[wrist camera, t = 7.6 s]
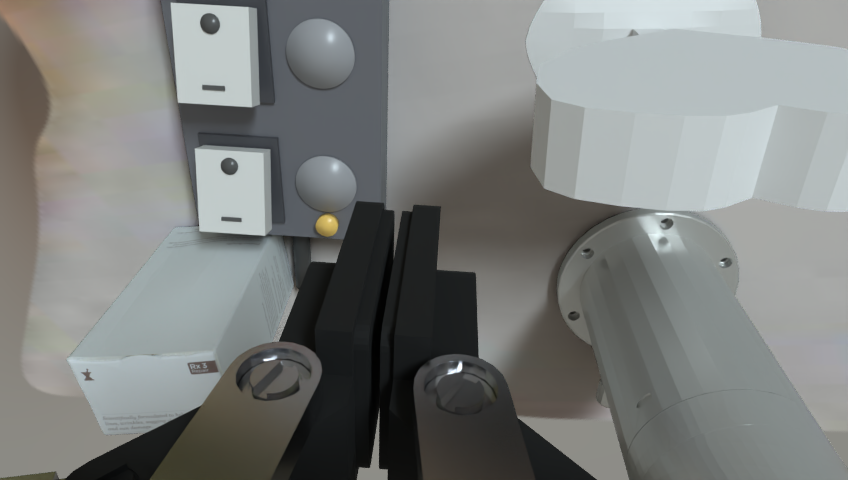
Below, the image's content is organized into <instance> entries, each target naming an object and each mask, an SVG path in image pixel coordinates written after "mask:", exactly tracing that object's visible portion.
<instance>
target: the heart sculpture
mask: <svg viewBox="0 0 848 480" xmlns="http://www.w3.org/2000/svg"><path fill="white" fill-rule="evenodd" d="M525 43H526V49H527V54H528V58H529V60H530V63H531V66H532V68H533V71H534V73H535V75H536V77H537V82H536V95H535V109H534V123H533V137H532V151H531V165H530V167H531V169H532V171H533V172H534V174H535V175H536V177H537V178H538V180H539V182H540V183H541V185H542V186H543V188H544V189H547V190H550V191H553V192H555V193H558V194H561V195H564V196H567V197H570V198H573V199H578V200H584V201H590V202H597V203H603V204H610V205H616V206H624V207H634V208H644V209H655V210H665V211H707V210H713V209H719V208H724V207H728V206H730V205H733V204H736V203H739V202H741V201H744V200H747V199H750V198H755V199H760V200H764V201H769V202H773V203H778V204H782V205H787V206H791V207H796V208H803V209H810V210H817V211H824V212H848V49H845V48H840V47H834V46H826V45H818V44H811V43H803V42H795V41H787V40H780V39H772V38H762V37H761V20H760V14H759V9H758V6H757V2H756V0H544V1H543V3H542V5H541V6H540V8H539V10H538V11H537V13H536V15H535V17H534V19H533V21H532V23H531V25H530V28H529V31H528V34H527V38H526V41H525Z"/></svg>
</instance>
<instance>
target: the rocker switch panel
mask: <svg viewBox="0 0 848 480" xmlns="http://www.w3.org/2000/svg"><path fill="white" fill-rule="evenodd" d="M171 3H186V4H204V5H221V6H238V7H251V8H257V29H258V61H259V94H260V105H257V106H254V107H239V106H223V105H207V104H191V103H178V105H179V111H180V116H181V122H182V128H183V134H184V140H185V146H186V152H187V157H188V163H189V169H190V175H191V181H192V187H193V192H194V198H195V204H196V210H197V216H198V222H199V214H198V196H197V178H196V160H195V148H198V147H200V146H203V145H211V146H227V147H243V148H258V149H270V158H271V212H272V230H271V231H270V232H269V233H268V234H270V235H285V236H292V238H293V250H294V263H295V276H296V287H297V288H298V289H300V287H301V284H302V282H303V279H304V276H305V274H306V271H307V269H308V266H309V265H310V263H311V252H310V237H315V238H330V239H344V237H345V234H346V231H347V228H348V225H349V222H350V219H351V216H352V213H353V210H354V206H355V203H356V201H364V202H379V203H384V205H385V210H386V180H387V111H388V42H389V0H161V5H162V11H163V17H164V23H165V29H166V35H167V40H168V46H169V52H170V58H171V64H172V70H173V76H174V81H175V87H176V93H177V84H176V70H175V57H174V43H173V29H172V16H171ZM177 99H178V98H177Z"/></svg>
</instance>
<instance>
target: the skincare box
mask: <svg viewBox="0 0 848 480" xmlns="http://www.w3.org/2000/svg"><path fill="white" fill-rule="evenodd" d="M293 286H294V283H293V279H292V274H291V270H290V266H289V262H288V257H287V253H286V249H285V244H284V240H283V236H282V235H270V234H267V235H265V236H262V235H247V234H232V233H217V232H202V231H199V226H195V227H176V228H174V229H173V230H172V231H171V232H170V234H169V235H168V236H167V237H166V238H165V240H164V241H163V242H162V243H161V245H160V246H159V247H158V248H157V250H156V251H155V252H154V253H153V255H152V256H151V257H150V258H149V259H148V261H147V262H146V263H145V264H144V266H143V267H142V268H141V269H140V271H139V272H138V273H137V274H136V276H135V277H134V278H133V279H132V280H131V282H130V283H129V284H128V285H127V286H126V288H125V289H124V290H123V291H122V293H121V294H120V295H119V296H118V297H117V299H116V300H115V301H114V302H113V304H112V305H111V306H110V307H109V308H108V310H107V311H106V312H105V313H104V315H103V316H102V317H101V318H100V319H99V321H98V322H97V323H96V324H95V326H94V327H93V328H92V329H91V330H90V332H89V333H88V334H87V335H86V337H85V338H84V339H83V340H82V342H81V343H80V344H79V345H78V346H77V348H76V349H75V350H74V351H73V352H72V353H71V354H70V356H69V357H68V358H67V362H68V364H69V366H70V368H71V369H72V371H73V373H74V375H75V377H76V379H77V381H78V383H79V385H80V387H81V389H82V391H83V393H84V395H85V396H86V398H87V400H88V402H89V404H90V406H91V408H92V410H93V412H94V415H95V417H96V419H97V421H98V424H99V426H100V428H101V429H102V431H103V433H104V434H105V435H121V434H137V433H147V432H149V431H151V430H153V429H155V428H157V427H159V426H161V425H163V424H165V423H167V422H169V421H171V420H173V419H175V418H177V417H179V416H181V415H183V414H185V413H187V412H189V411H191V410H193V409H195V408H197V407H199V406H201V405H202V404H203V403H204V401H205V400H206V398H207V397H208V395H209V394H210V393H211V391H212V390H213V388H214V387H215V385H216V384H217V383H218V381H219V380H220V378H221V377H222V375H223V374H224V373H225V371H226V370H227V368H228V367H229V365H230V364H231V363H232V362H233V361H234V360H235V359H236V358H237V357H238V356H239V355H240V354H242V353H244V352H245V351H247V350H249V349H250V348H253V347H256V346H259V345H261V344H264V343H271V342H272V341H273V338H274V336H275V333H276V331H277V328H278V326H279V323H280V320H281V318H282V315H283V313H284V310H285V307H286V304H287V302H288V299H289V297H290V294H291V291H292V289H293Z"/></svg>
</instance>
